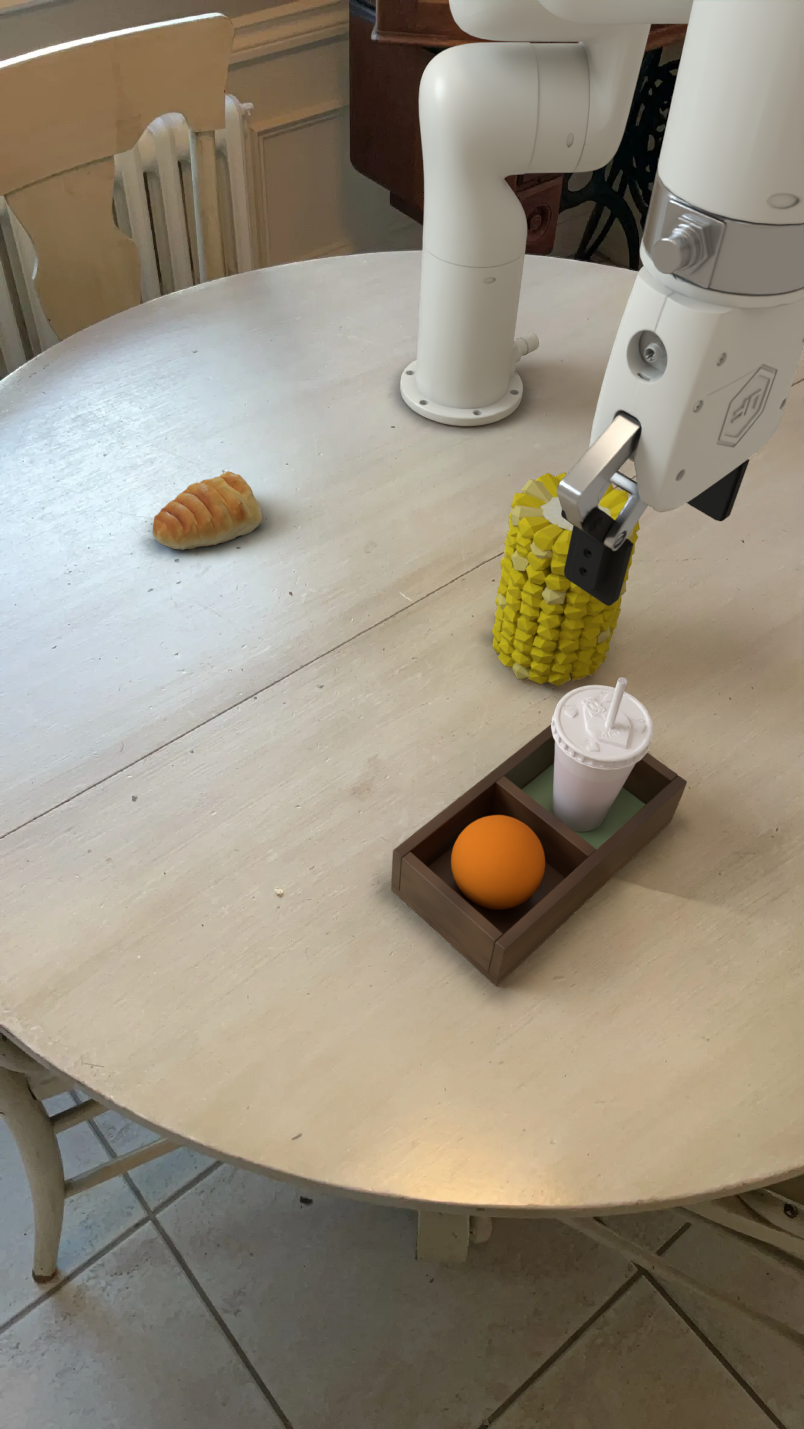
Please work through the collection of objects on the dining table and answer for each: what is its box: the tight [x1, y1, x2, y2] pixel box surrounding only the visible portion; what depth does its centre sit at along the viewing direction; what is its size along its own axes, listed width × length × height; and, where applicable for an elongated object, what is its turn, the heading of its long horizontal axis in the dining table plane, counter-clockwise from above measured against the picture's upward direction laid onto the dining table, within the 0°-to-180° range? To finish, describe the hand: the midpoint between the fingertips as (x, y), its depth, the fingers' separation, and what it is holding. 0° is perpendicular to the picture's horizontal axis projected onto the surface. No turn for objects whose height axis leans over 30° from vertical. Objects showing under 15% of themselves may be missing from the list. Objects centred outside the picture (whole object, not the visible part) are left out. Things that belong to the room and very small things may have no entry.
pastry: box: [152, 470, 264, 551], centre depth 92 cm, size 9×7×4 cm
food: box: [491, 472, 641, 687], centre depth 80 cm, size 15×12×10 cm
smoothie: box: [550, 676, 654, 832], centre depth 68 cm, size 6×6×14 cm
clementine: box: [451, 815, 545, 910], centre depth 67 cm, size 6×6×6 cm
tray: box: [390, 724, 688, 987], centre depth 70 cm, size 10×18×5 cm, turn 134°
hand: (648, 546), depth 56 cm, fingers open, 9 cm apart
